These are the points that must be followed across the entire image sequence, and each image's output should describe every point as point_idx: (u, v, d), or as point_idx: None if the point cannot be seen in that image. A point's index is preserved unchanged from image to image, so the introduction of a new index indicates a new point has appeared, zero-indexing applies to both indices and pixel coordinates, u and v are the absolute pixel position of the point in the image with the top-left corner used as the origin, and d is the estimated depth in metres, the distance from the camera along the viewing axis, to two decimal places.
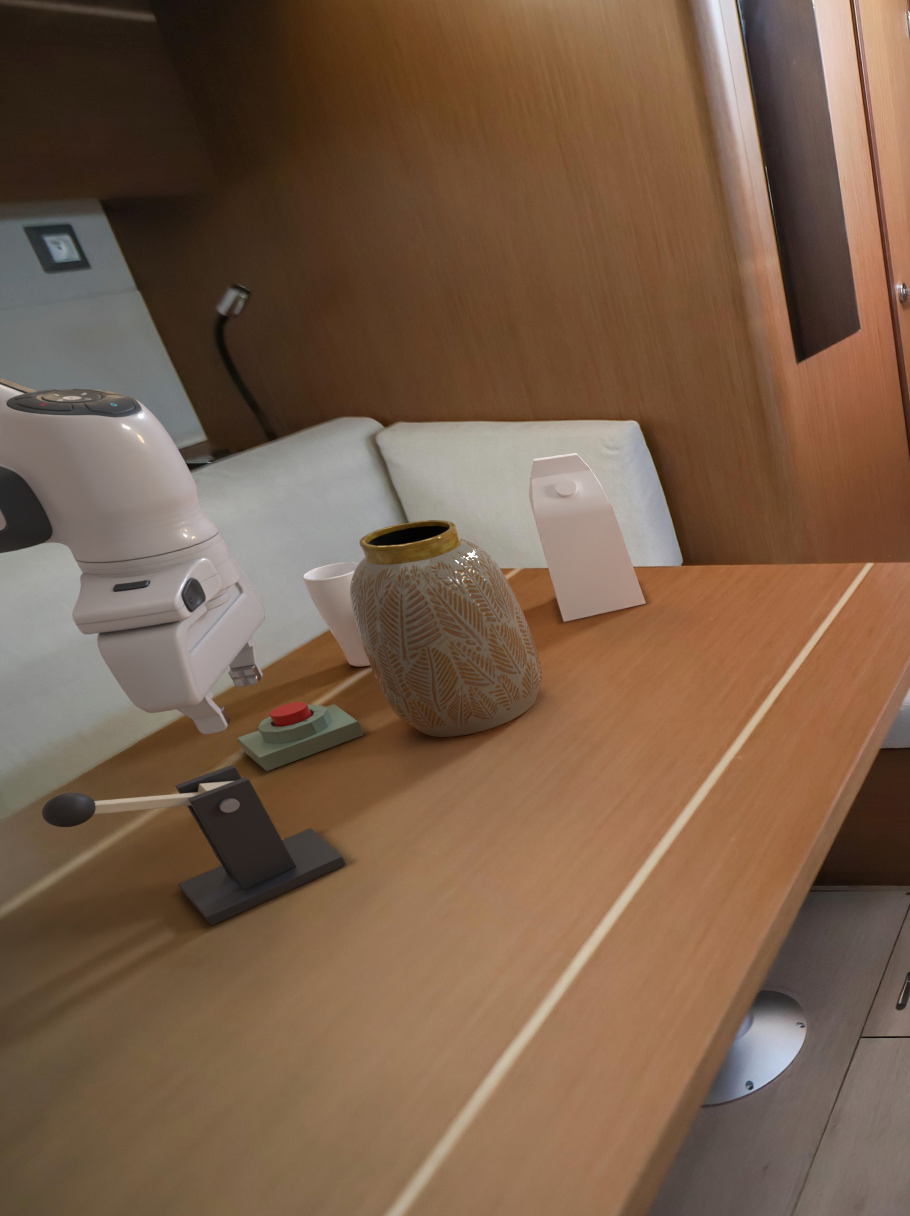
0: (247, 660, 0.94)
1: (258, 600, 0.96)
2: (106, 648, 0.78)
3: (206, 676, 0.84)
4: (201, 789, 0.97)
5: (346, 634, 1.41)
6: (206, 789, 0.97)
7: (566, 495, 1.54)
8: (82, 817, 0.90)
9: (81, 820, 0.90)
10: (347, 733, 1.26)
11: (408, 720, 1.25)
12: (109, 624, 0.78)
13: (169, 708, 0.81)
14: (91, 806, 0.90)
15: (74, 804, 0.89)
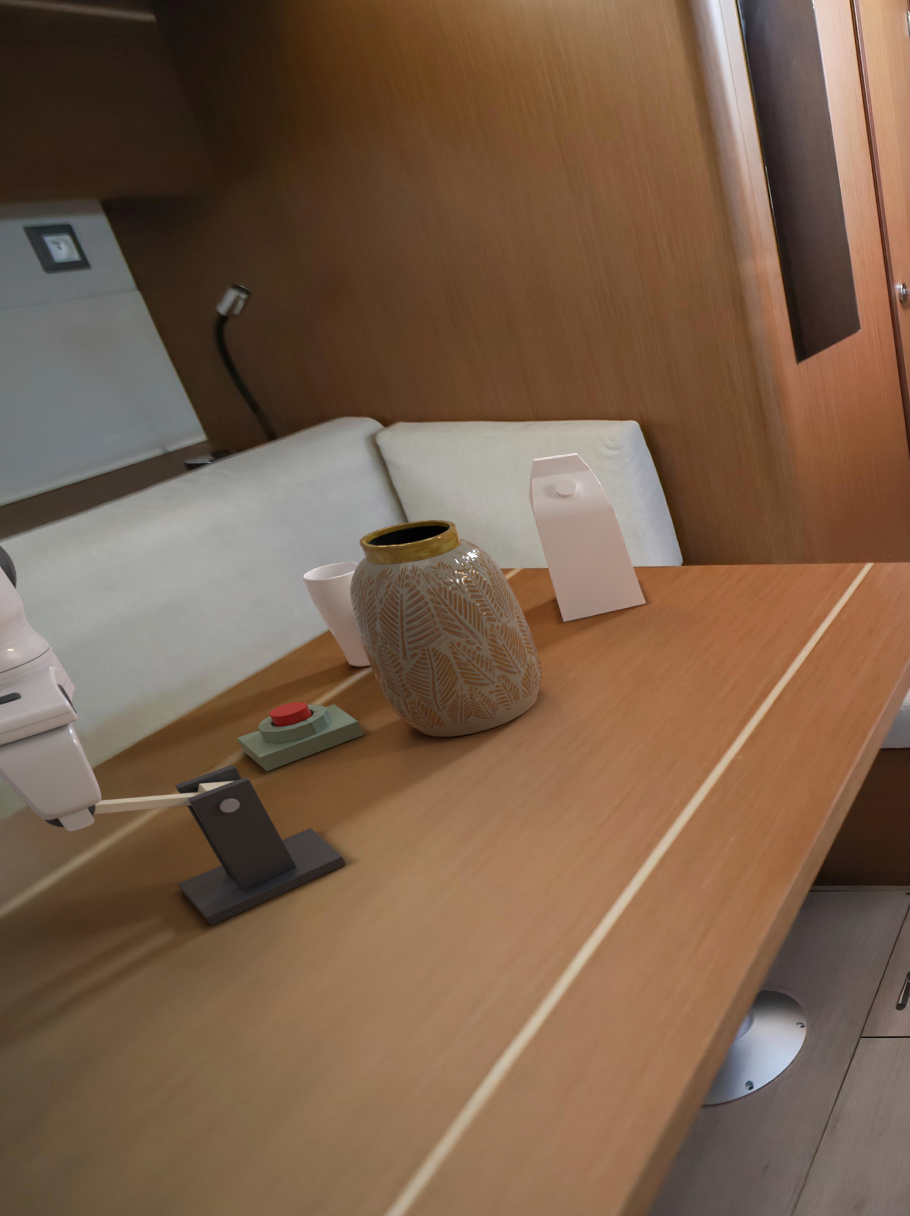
0: None
1: None
2: (1, 761, 0.80)
3: None
4: (201, 789, 0.97)
5: (346, 634, 1.41)
6: (206, 789, 0.97)
7: (566, 495, 1.54)
8: None
9: None
10: (347, 733, 1.26)
11: (408, 720, 1.25)
12: (1, 737, 0.79)
13: (73, 810, 0.83)
14: (91, 806, 0.90)
15: None
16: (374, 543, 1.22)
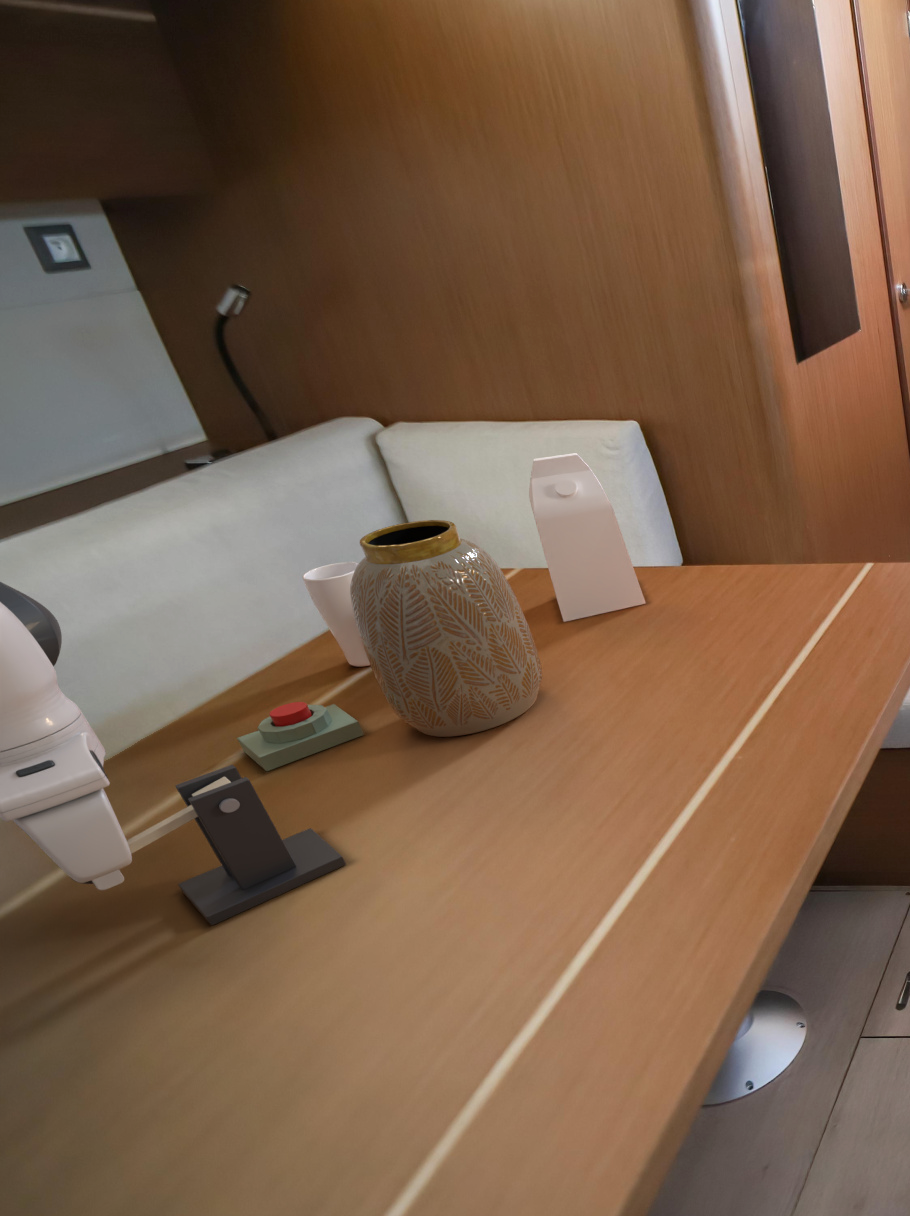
0: None
1: None
2: (37, 829, 0.82)
3: None
4: None
5: (346, 634, 1.41)
6: None
7: (566, 495, 1.54)
8: None
9: None
10: (347, 733, 1.26)
11: (408, 720, 1.25)
12: (37, 805, 0.82)
13: (106, 872, 0.86)
14: None
15: None
16: (374, 543, 1.22)
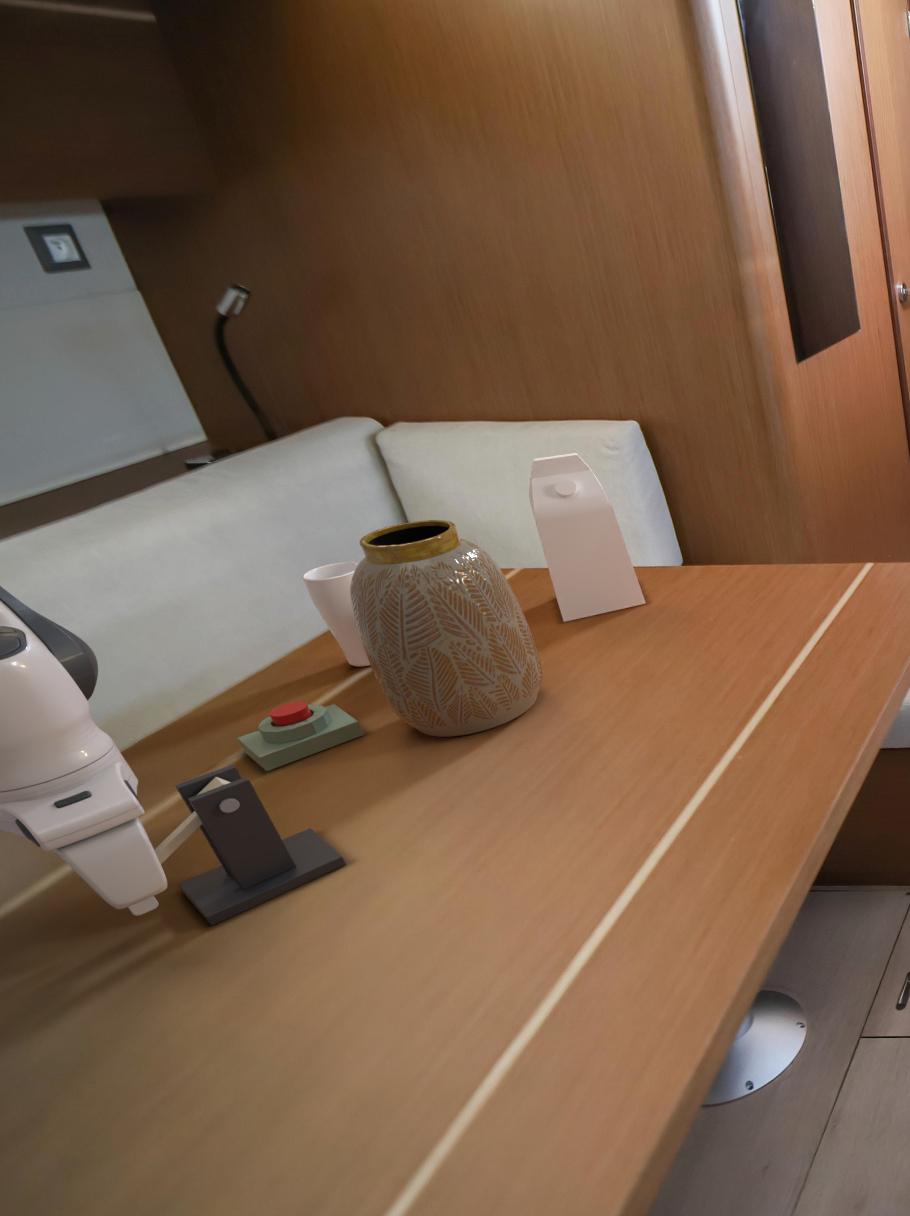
0: None
1: None
2: (76, 858, 0.85)
3: None
4: None
5: (346, 634, 1.41)
6: None
7: (566, 495, 1.54)
8: None
9: None
10: (347, 733, 1.26)
11: (408, 720, 1.25)
12: (76, 835, 0.85)
13: (143, 899, 0.88)
14: None
15: None
16: (374, 543, 1.22)
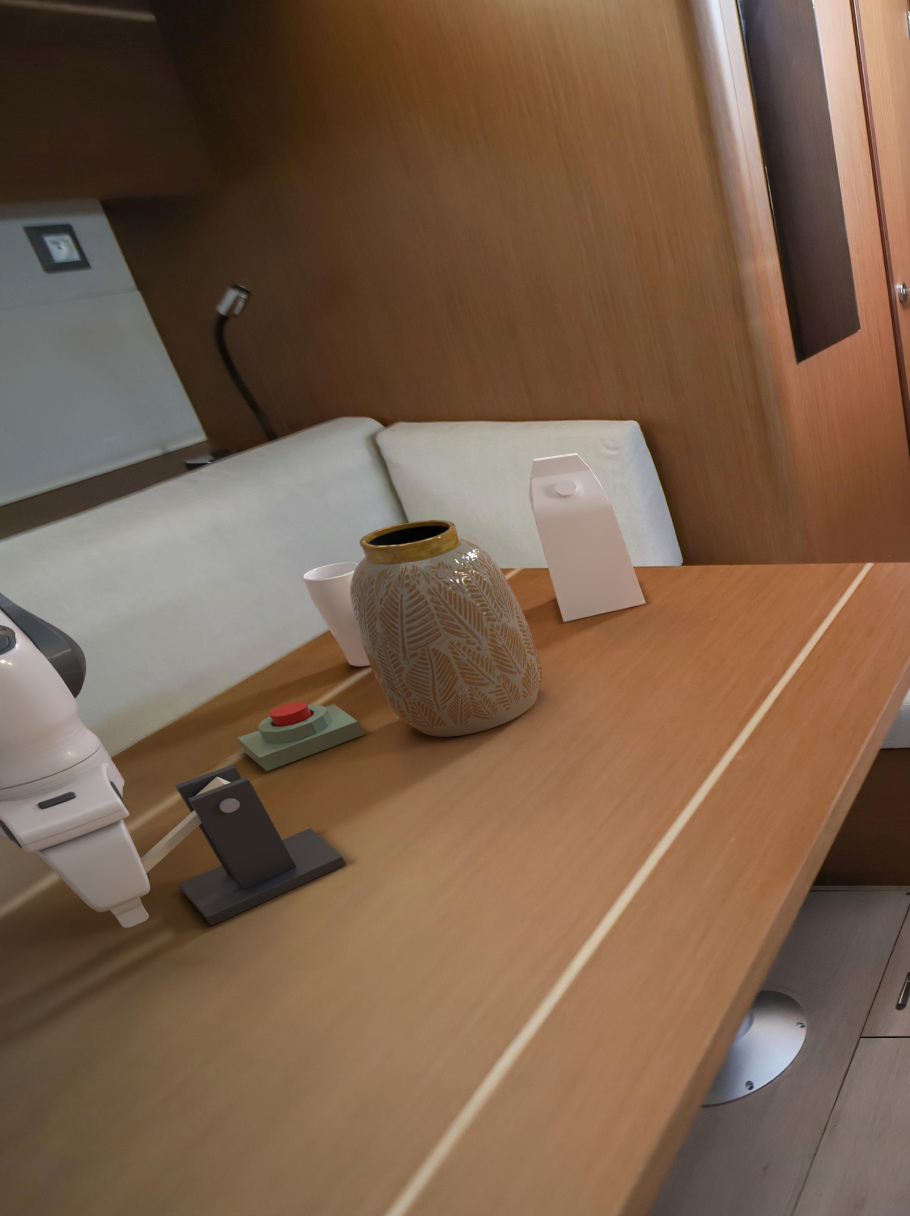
0: None
1: None
2: (58, 860, 0.84)
3: None
4: None
5: (346, 634, 1.41)
6: None
7: (566, 495, 1.54)
8: None
9: None
10: (347, 733, 1.26)
11: (408, 720, 1.25)
12: (58, 837, 0.84)
13: (124, 902, 0.88)
14: None
15: None
16: (374, 543, 1.22)
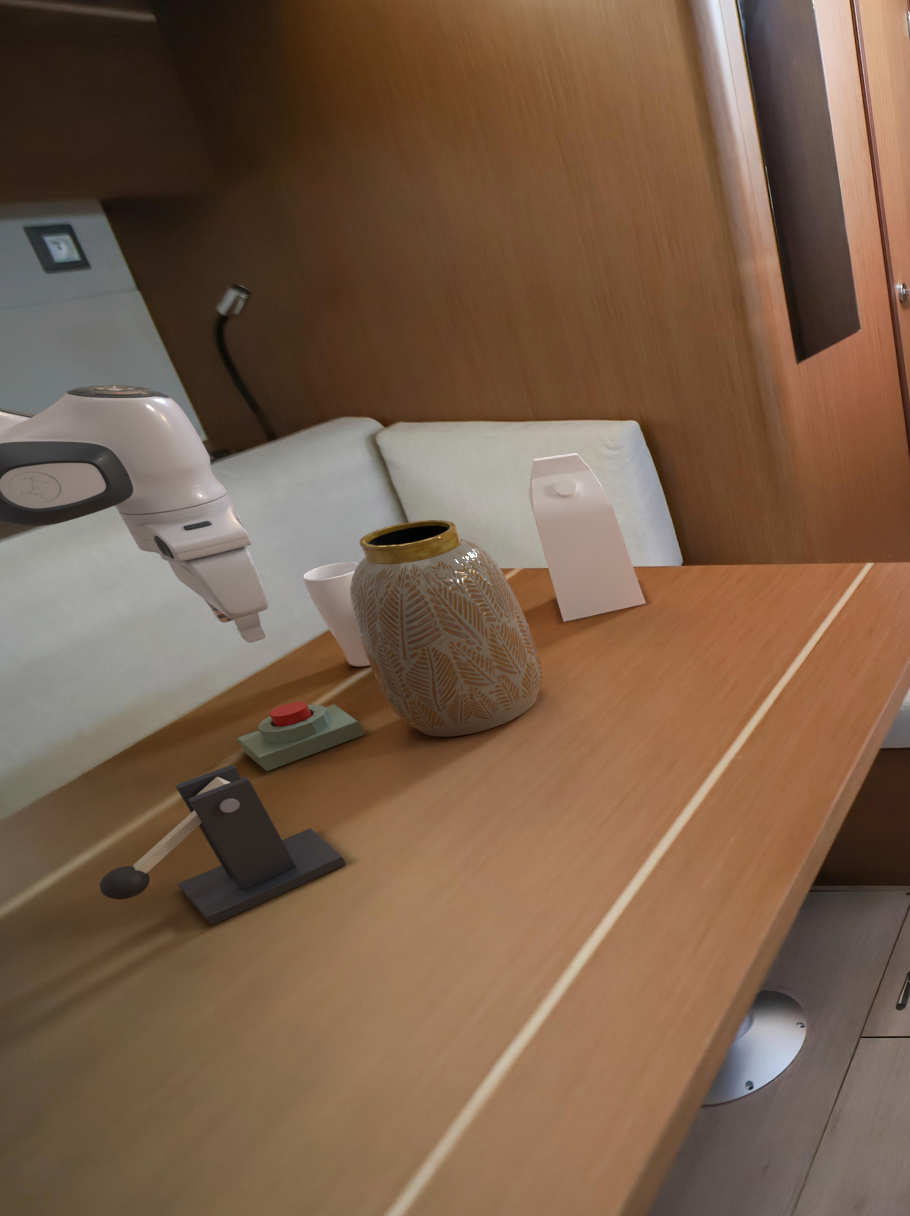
0: None
1: None
2: (201, 569, 1.06)
3: None
4: None
5: (346, 634, 1.41)
6: None
7: (566, 495, 1.54)
8: (138, 884, 0.94)
9: (142, 885, 0.94)
10: (347, 733, 1.26)
11: (408, 720, 1.25)
12: (200, 551, 1.06)
13: (249, 612, 1.10)
14: (133, 874, 0.94)
15: (117, 883, 0.93)
16: (374, 543, 1.22)
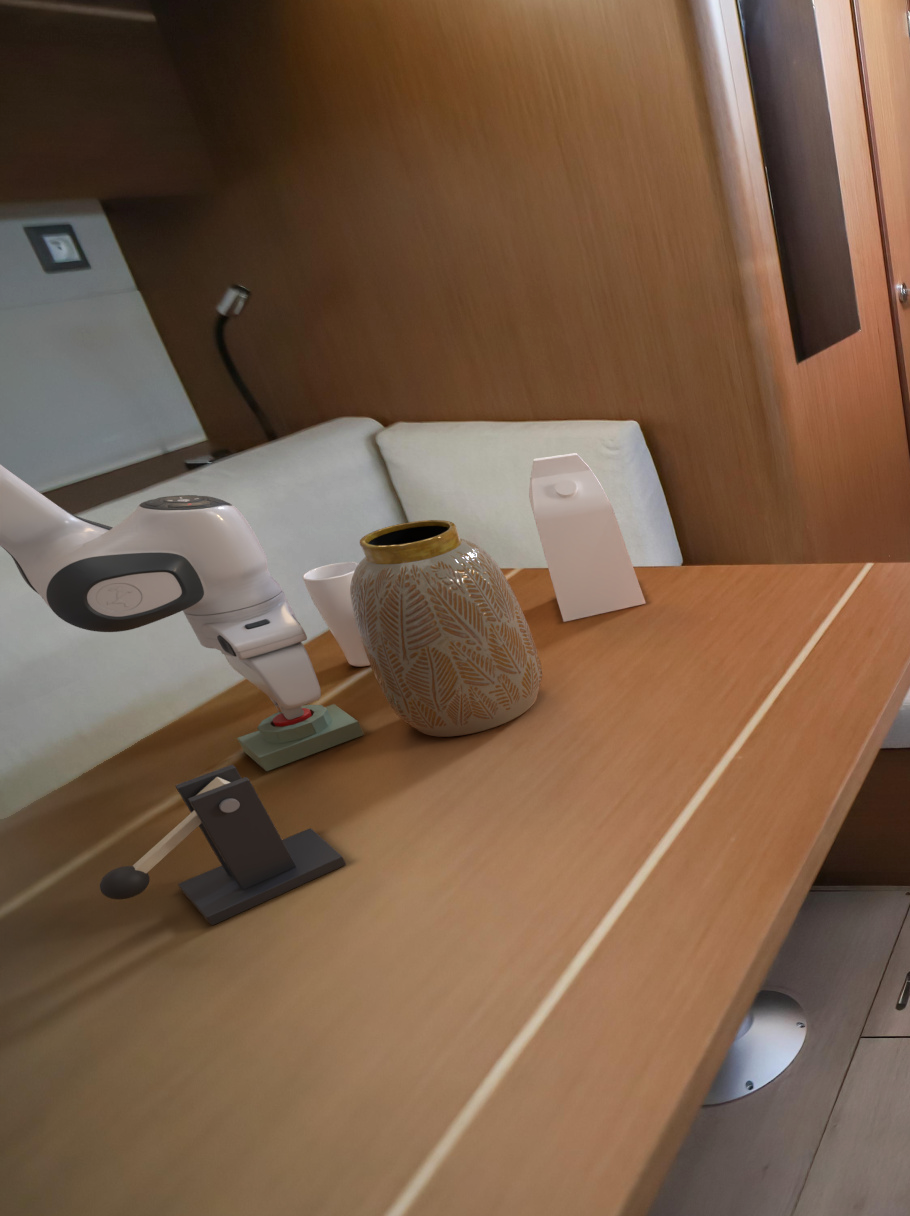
0: None
1: None
2: (261, 666, 1.14)
3: None
4: None
5: (346, 634, 1.41)
6: None
7: (566, 495, 1.54)
8: (138, 884, 0.94)
9: (142, 885, 0.94)
10: (347, 733, 1.26)
11: (408, 720, 1.25)
12: (261, 649, 1.14)
13: (304, 703, 1.17)
14: (133, 874, 0.94)
15: (117, 883, 0.93)
16: (374, 543, 1.22)
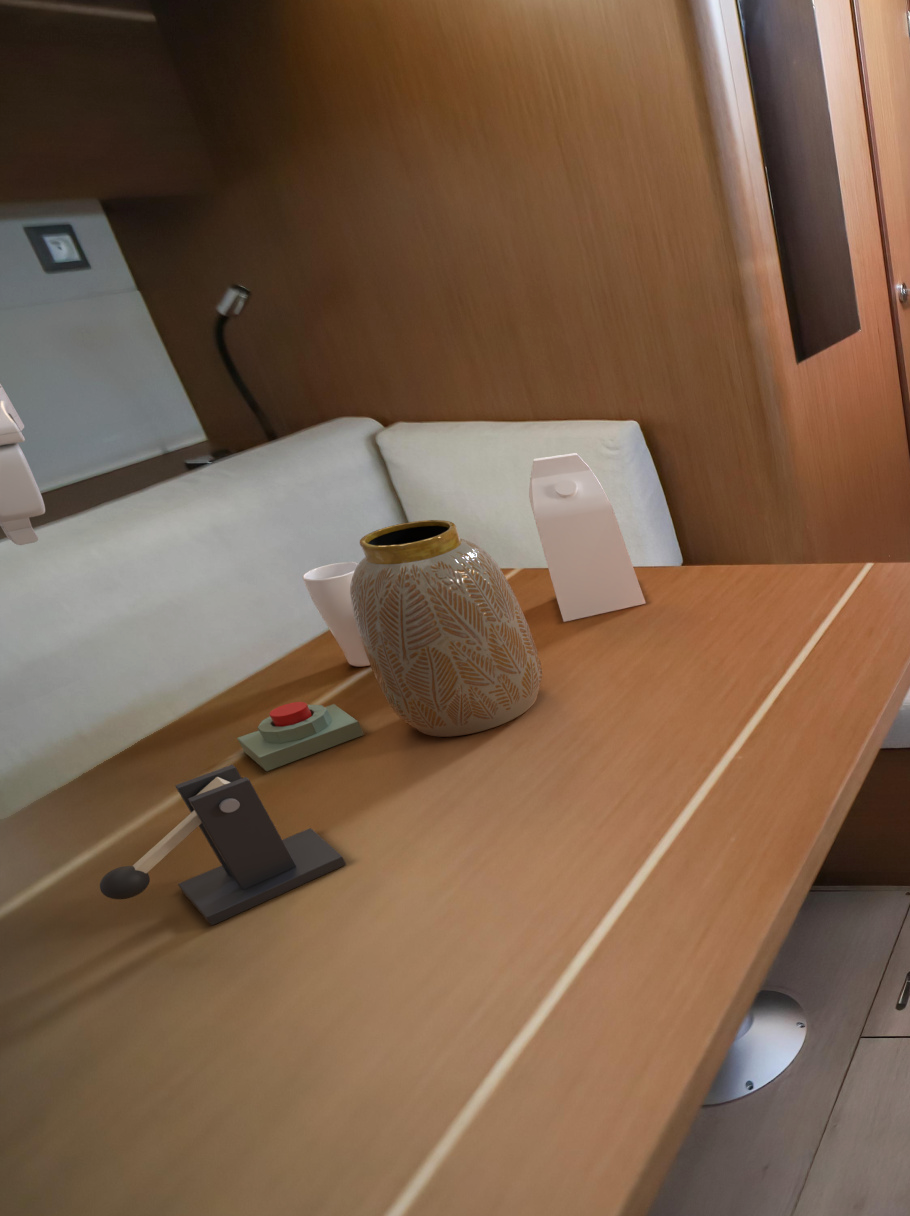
0: None
1: None
2: None
3: None
4: None
5: (346, 634, 1.41)
6: None
7: (566, 495, 1.54)
8: (138, 884, 0.94)
9: (142, 885, 0.94)
10: (347, 733, 1.26)
11: (408, 720, 1.25)
12: None
13: (21, 516, 1.00)
14: (133, 874, 0.94)
15: (117, 883, 0.93)
16: (374, 543, 1.22)
